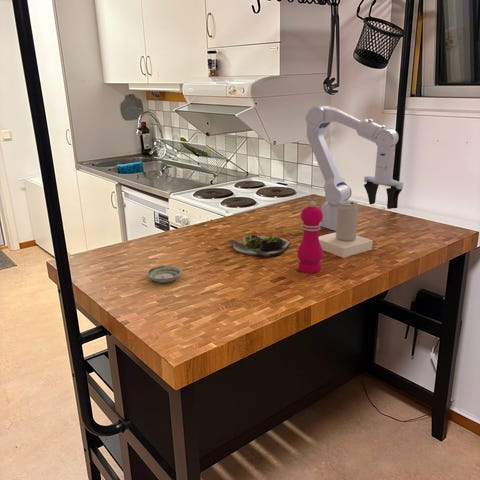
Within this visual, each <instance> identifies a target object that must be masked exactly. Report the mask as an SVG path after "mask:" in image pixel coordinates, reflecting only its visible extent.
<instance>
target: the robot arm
mask: <svg viewBox="0 0 480 480" xmlns="http://www.w3.org/2000/svg"><path fill="white" fill-rule="evenodd" d="M305 121H306V137H307V140H308V143H309V145H310V148H311V149H312V152H313V154H314V156H315V157H314V158H315V159H316V162H317V164H318V167H319V169H320V172H321V175H322V177H323V178H324V179H323V180H324V185H323V189H324V193H325V195H324V196H325V201H324V203H323V204H322V206H321V208H320V209H321V211H322V213H323V219H322V221H321V222H320V224H321V226H320V227H321V228H325V229H328V230H331V231H335V232H336V223H337V206H338V205H339V202H340V201H349V199H350V198H351V197H352V194H353V193H352V192H353V191H352V188H351V186H350V185H349V184H348V183H347V182H346V180H345V178H343V177H342V176H341V175H340V173H339V171H338V169H337V168H338V167H337V166H336V163H335V161H334V159H333V155H332V153H331V152H330V149H329V147H328V144H327V141H326V139H325V136H324V133H325V131H326V129H327V128H328V126H329V125H330V124H331V123H332V122H333V123H334V122H335V123H338V124H340V125H344V126H346V127H348V128H350V129H354V130H355V131H356V133H357V135H358V136H359V137H361V138H364V139H366V140H368V141H370V142H372V143H375V145H376V146H377V147H376V148H377V150H376V155H375V156H376V158H375V159H376V160H375V169H374V176H370V175H367V176H364V179H363V180H364V181H363V182H364V185H363V187H364V189H365V191H366V194H367V197H368V202H369V205H374V204H375V203H376V199H377V193H378V192H377V191H378V189H379V187H380V186H384V187H386V188H385V190H386V196H387V202H386V207H387V210H390V209H393V208H394V206H395V203H396V200H397V198H398V196H399V195H400V194H401V192H402V191H403V189H404V188H403V187H404V182H403V181H402V182H401V181H398V180H396V179H393V178H394V177H393V176H394V175H393V174H394V164H395V155H396V153H395V152H396V145H397V144H398V142H399V138H400V137H399V133H398V132H397V131H396V130H394V128H387V126H386V125H380V124H378V123H376V122H374V119H373V118H368V119H367V118H366V119H363V120H360V119H358V118H356V117H355V116H352V115H350V114H349V113H346V112H344V111H342V110H341V109H339V108H338V107H332V106H331V105H329V104H326V105H321V106H318V105H317V106H316V105H314V106H312V107H310V108H309V109H308V110H307V114H306V116H305Z"/></svg>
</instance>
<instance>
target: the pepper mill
mask: <svg viewBox="0 0 480 480" xmlns="http://www.w3.org/2000/svg"><path fill="white" fill-rule="evenodd" d="M316 203H317V202H315V201H314V200H311V201H309V202H308V206H306V207H304V208H303V209H302V210H301V213H300V219H301V221H302V227H301V228H302V230H303V237H302V241H301V243H300V245H299V247H298V250H297V254H296V256H297V258H298V260H299V262H298V270H299V271H300V272H302V273H306V274H314V273H315V274H316V273H318V272H320V271H321V270H322V269H321V268H322V264H321V261H322V259H323V258H324V250H322V247H321V245H320V242H319V232H320V230H321V227H322V226H321V224H320V222H321V221H322V219H323V213H322V211H321V208H320V207H318V206H316Z"/></svg>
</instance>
